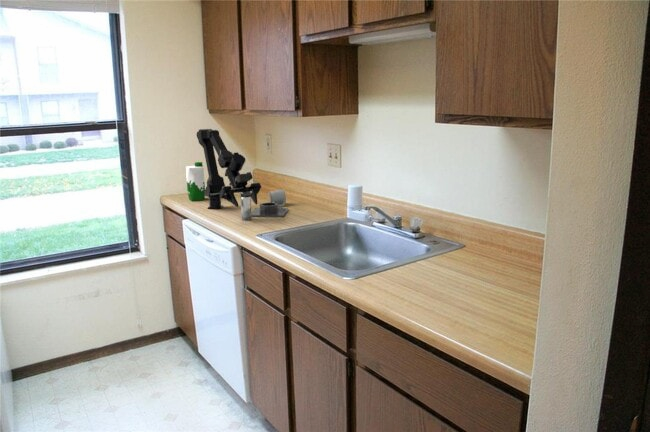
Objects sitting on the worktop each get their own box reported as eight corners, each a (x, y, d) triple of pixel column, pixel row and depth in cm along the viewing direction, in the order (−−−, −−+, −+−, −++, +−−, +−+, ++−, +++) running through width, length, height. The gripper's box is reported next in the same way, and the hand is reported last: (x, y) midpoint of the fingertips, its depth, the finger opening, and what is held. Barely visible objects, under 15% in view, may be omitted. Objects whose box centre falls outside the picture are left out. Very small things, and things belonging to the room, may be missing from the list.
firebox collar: (255, 209, 252) (255, 200, 251) (288, 209, 251) (288, 201, 250) (248, 216, 236) (248, 207, 235) (283, 217, 235) (283, 207, 234)
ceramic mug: (266, 204, 265) (266, 189, 263) (282, 202, 268) (281, 188, 266) (272, 208, 255) (272, 193, 254) (288, 206, 258) (288, 191, 257)
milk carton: (206, 200, 276) (204, 163, 272) (189, 201, 273) (187, 164, 268) (203, 197, 284) (201, 161, 280) (186, 199, 280) (184, 162, 276)
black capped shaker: (242, 218, 233) (241, 191, 231) (252, 218, 233) (251, 191, 231) (240, 220, 229) (239, 192, 226) (250, 220, 229) (249, 192, 226)
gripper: (220, 168, 224) (233, 197, 218) (258, 164, 235) (271, 192, 228) (214, 184, 232) (226, 212, 225) (251, 180, 243) (263, 206, 236)
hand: (247, 205), depth 229 cm, fingers open, 9 cm apart
